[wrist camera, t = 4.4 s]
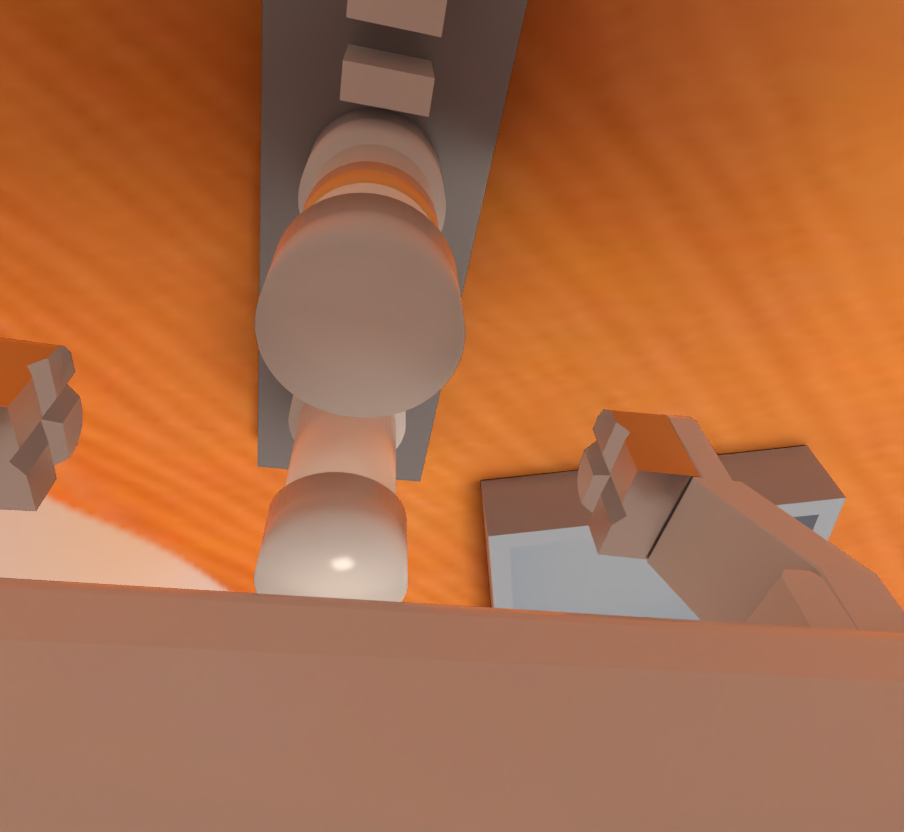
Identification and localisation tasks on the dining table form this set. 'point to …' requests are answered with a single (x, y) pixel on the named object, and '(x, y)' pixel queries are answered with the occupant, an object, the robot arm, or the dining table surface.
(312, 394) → the cream orange rounded cylinder
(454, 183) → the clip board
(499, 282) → the dining table surface
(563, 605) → the tray
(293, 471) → the rounded cream knob
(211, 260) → the dining table surface
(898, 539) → the dining table surface
